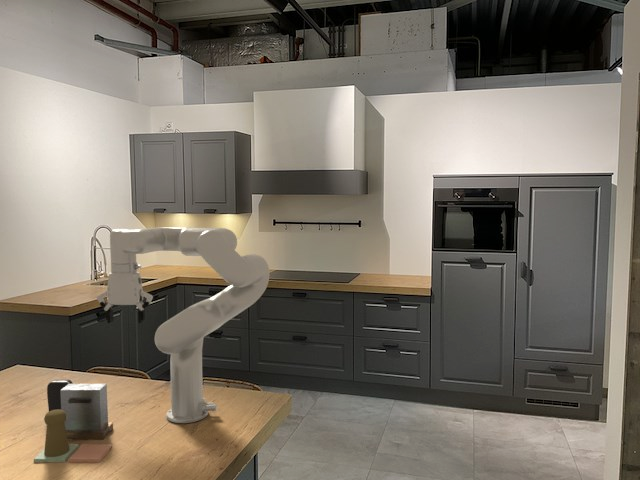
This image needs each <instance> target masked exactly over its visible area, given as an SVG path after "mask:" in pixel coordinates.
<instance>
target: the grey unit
mask: <svg viewBox="0 0 640 480" xmlns="http://www.w3.org/2000/svg"><path fill="white" fill-rule="evenodd" d="M60 394H61V410H64V411H65V413H66V420H65V422H64V424H65V429H66V434H67V439H68V441H83V440H84V441H93V440H94V441H99V440H100V441H101V440H103V441H104V440H105V439H106V438H107V436H109V434H110V433H111V432H112V431H113V429H114V422H113V421H110V422H109V412H108V411H109V410H108V385H107V383H72V384H68V385H66V386H65V387H64V388H62V389H61V390H60Z"/></svg>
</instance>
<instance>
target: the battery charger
mask: <svg viewBox="0 0 640 480" xmlns="http://www.w3.org/2000/svg"><path fill="white" fill-rule="evenodd" d="M68 384H73V381H72V380H70V379H64V378H63V379H53V380H52V381H50V382H49V383H48V384H47V386H46V395H47V407H48V412H49V411H52V410H57V409H60V410H61V394H60V390H61V389H62V388H64V387H65V386H66V385H68Z"/></svg>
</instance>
